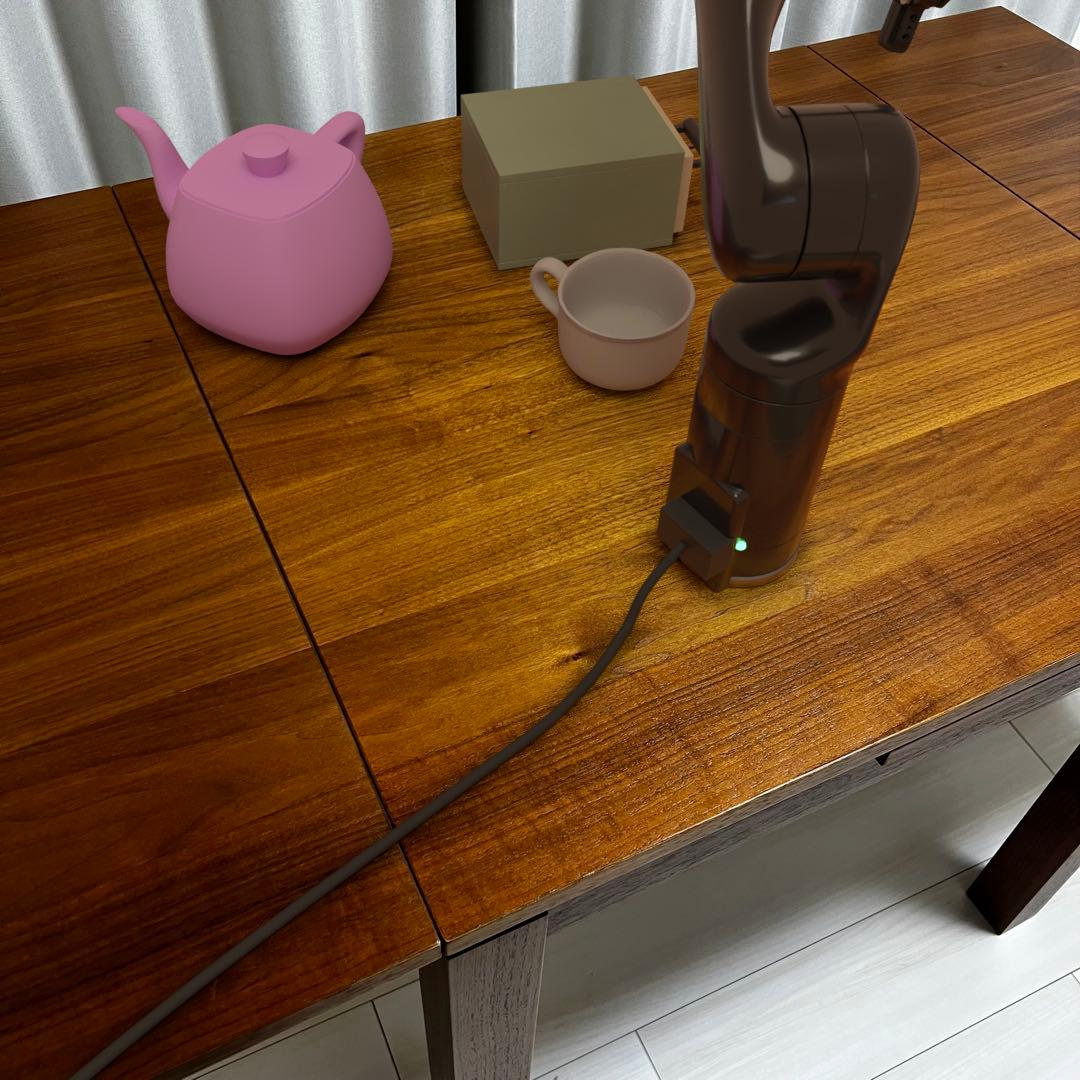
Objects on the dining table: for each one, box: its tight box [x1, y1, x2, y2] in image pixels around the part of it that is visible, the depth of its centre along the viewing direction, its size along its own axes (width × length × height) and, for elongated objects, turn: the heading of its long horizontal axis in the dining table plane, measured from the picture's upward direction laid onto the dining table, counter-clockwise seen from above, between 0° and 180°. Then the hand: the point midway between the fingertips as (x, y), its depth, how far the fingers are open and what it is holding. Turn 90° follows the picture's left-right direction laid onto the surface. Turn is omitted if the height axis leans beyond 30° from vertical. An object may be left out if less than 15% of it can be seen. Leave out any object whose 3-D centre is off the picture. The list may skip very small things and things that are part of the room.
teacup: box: [529, 248, 696, 391], centre depth 96 cm, size 14×11×8 cm
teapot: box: [115, 106, 394, 356], centre depth 99 cm, size 23×21×15 cm
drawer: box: [641, 86, 701, 234], centre depth 110 cm, size 20×12×8 cm, turn 106°
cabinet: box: [460, 74, 685, 271], centre depth 109 cm, size 17×14×10 cm
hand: (891, 49), depth 102 cm, fingers closed
